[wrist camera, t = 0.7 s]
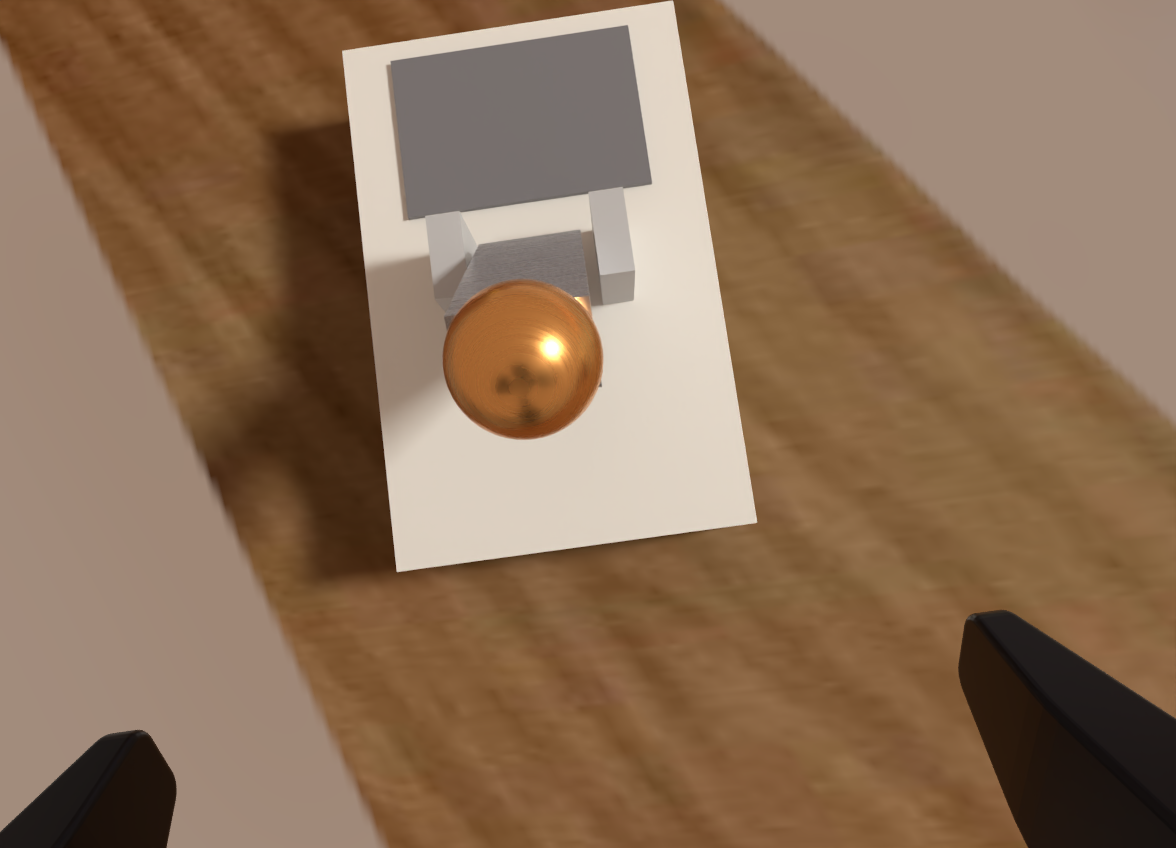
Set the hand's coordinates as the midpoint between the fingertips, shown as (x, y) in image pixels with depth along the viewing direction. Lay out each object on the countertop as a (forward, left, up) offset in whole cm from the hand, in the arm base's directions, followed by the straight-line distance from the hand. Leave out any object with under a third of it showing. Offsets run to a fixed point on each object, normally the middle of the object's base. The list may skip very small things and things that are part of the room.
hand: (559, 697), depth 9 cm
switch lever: (+8, -4, -10) cm, 13 cm away
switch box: (+8, -4, -15) cm, 17 cm away
